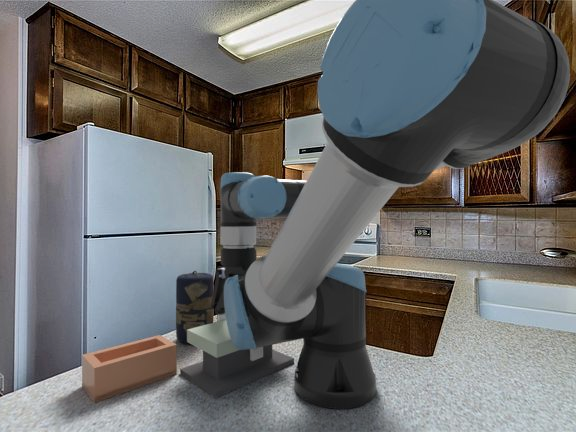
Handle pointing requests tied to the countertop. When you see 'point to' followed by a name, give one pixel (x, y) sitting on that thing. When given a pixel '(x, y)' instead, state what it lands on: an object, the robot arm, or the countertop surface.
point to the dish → (128, 367)
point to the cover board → (212, 338)
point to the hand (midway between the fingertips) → (239, 350)
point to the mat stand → (233, 370)
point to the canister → (193, 302)
